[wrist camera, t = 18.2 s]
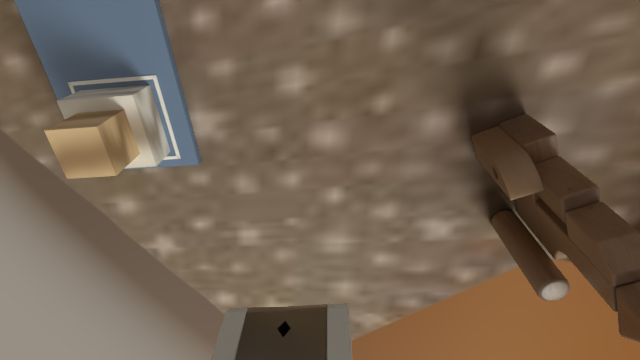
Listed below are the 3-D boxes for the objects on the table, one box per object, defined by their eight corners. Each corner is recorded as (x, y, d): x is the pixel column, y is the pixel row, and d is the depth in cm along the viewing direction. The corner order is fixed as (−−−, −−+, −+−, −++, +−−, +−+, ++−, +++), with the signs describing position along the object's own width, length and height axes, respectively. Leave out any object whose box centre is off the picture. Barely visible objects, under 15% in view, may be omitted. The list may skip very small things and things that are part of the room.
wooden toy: (467, 134, 43) (609, 296, 21) (525, 112, 41) (745, 262, 19) (492, 231, 49) (621, 432, 28) (544, 215, 48) (723, 414, 26)
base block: (80, 90, 40) (56, 101, 37) (149, 84, 40) (132, 95, 36) (106, 155, 44) (87, 170, 41) (170, 151, 44) (156, 166, 40)
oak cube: (77, 112, 37) (44, 130, 33) (124, 109, 37) (96, 126, 33) (96, 156, 40) (67, 178, 35) (140, 153, 39) (116, 175, 35)
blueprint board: (8, -32, 36) (-1, -32, 35) (146, -46, 35) (140, -47, 34) (94, 168, 46) (89, 172, 45) (201, 161, 45) (198, 165, 44)
